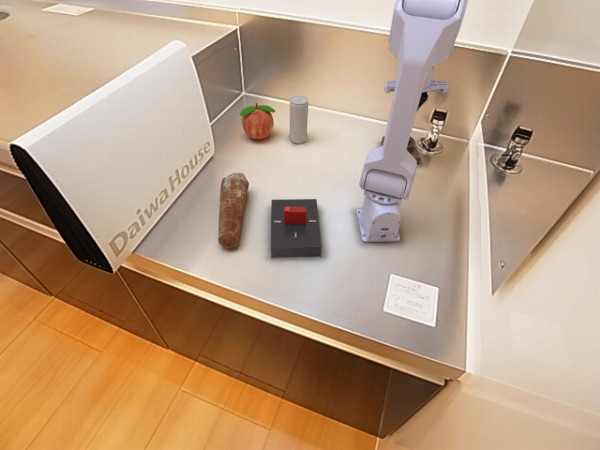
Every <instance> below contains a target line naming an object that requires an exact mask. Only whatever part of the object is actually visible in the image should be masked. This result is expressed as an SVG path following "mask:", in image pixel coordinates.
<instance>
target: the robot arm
mask: <svg viewBox="0 0 600 450" xmlns="http://www.w3.org/2000/svg"><path fill="white" fill-rule="evenodd" d="M468 3H469V0H395V3H394V7H393V12H392V17H391V19H392V20H391V25H390V29H389V36H388V51H389V52H390V53H391V54H392V55H393V56H394V57H395V58H396V61H397V63H396V67H397V69H396V71H397V72H396V73H397V75H396V80H388V81H385V82H384V88H383V90H384V92H385V94H390V93H393V97H392V99H391V105H390V110H389V115H388V120H387V125H386V130H385V134H384V136H385V139H384V143H383V146H382V145H381V146H377V147H375V148H374V149H371V150H370V151H369V152H368V153H367V155H366V157H365V160H364V163H363V167H362V170H361V173H360V179H359V188H360V190H363V191H364V192H363V196H364V199H363V203H362V204H363V205H362V208H361V209H360V208H357V209H356V211H355V213H356V218H357V222H358V227H359V232H360V236H361V241H362V242H364V243H374V242H375V243H378V242H379V243H380V242H383V243H384V242H386V243H387V242H400V241H401V237H400V234H399V230H400V227H401V225H402V216H401V212H400V205H401V202H402V201H406V200H408V199H409V198H410V195H411V192H412V188H413V185H414V182H415V178H416V174H417V168H418V165H417V164H416V163H417V161H416V159H415V158H414V157H413V156H412V155H411V154H410V153H409V152H408V151H407V146H408V142H409V138H410V136H411V134H412V130H413V127H414V123H415V119H416V116H417V112H418V111H419V109H420V108H421V107H422V106H423V105H424V104H425V103H426V102H427V101H428V100H429V94H428V92H429V93H430V92H431V93H433V92H434V93H435V92H436V93H439V92H441V93H442V94H447V93H448V91H449V87H450V84H449V83H448V81H445V80H435V79H433V75H434V72H435V68H436V65H437V64H439V63H441V62H444V61H447V60H448V59H449V57H450V54H451V53H452V52H453V50H454V47H455V44H456V41H457V38H458V36H459V33H460V29H461V27H462V24H463V20H464V17H465V14H466V11H467V7H468Z"/></svg>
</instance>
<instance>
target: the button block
mask: <svg viewBox="0 0 600 450" xmlns="http://www.w3.org/2000/svg"><path fill="white" fill-rule="evenodd" d="M410 137H411V138H410V142H409V145H408V146H407V151H408V152H409V153H410V154H411V155H412V156H413V157H414V158H415V159H416V161H417V163H416V164H417V166H418V165H420V162H421V159H422V157H421V155H420V153H419V151H418V148H417V146H416V141H415V139H414V138H413V137H412V136H411V135H410ZM384 139H385V135H383V136H381V143H380V144H381V146H383V143H384Z"/></svg>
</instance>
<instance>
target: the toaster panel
mask: <svg viewBox="0 0 600 450" xmlns="http://www.w3.org/2000/svg"><path fill="white" fill-rule="evenodd" d="M270 204H271V206H270V208H271V209H270V258H304V257H305V258H308V257H309V258H311V257H312V258H313V257H314V258H315V257H322V248H323V247H322V238H321V237H322V236H321V229H320V220H319V208H318V199H317V198H296V199H295V198H291V199H282V198H281V199H280V198H279V199H271V203H270ZM284 207H306V224H284Z"/></svg>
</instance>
